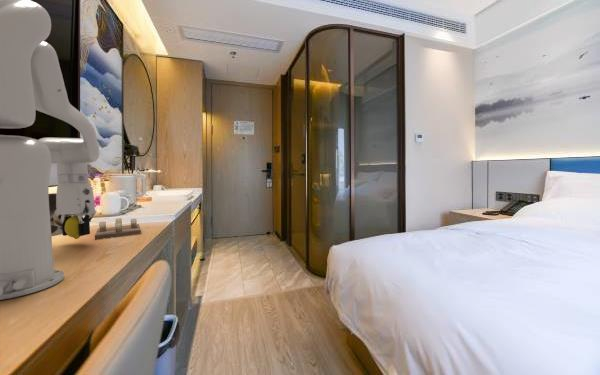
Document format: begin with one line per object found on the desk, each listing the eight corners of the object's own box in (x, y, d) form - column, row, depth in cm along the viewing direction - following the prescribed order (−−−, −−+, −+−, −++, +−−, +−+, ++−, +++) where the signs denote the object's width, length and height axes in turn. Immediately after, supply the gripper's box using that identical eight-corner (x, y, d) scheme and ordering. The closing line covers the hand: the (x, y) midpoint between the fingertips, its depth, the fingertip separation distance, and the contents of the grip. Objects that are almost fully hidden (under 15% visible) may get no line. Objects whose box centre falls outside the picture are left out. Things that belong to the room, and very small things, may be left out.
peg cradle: (140, 233, 98) (140, 221, 98) (94, 239, 90) (94, 226, 90) (139, 227, 110) (138, 216, 110) (98, 232, 102) (97, 220, 101)
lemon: (87, 236, 87) (85, 213, 87) (88, 238, 83) (86, 214, 83) (65, 239, 83) (63, 215, 83) (65, 242, 79) (63, 216, 79)
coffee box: (51, 236, 97) (48, 194, 96) (38, 235, 98) (35, 194, 97) (77, 230, 106) (74, 192, 105) (65, 230, 107) (62, 192, 106)
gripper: (106, 179, 85) (109, 232, 85) (64, 180, 88) (67, 232, 88) (83, 179, 77) (86, 238, 78) (38, 180, 80) (42, 237, 81)
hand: (76, 234), depth 83 cm, fingers closed on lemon, 5 cm apart
